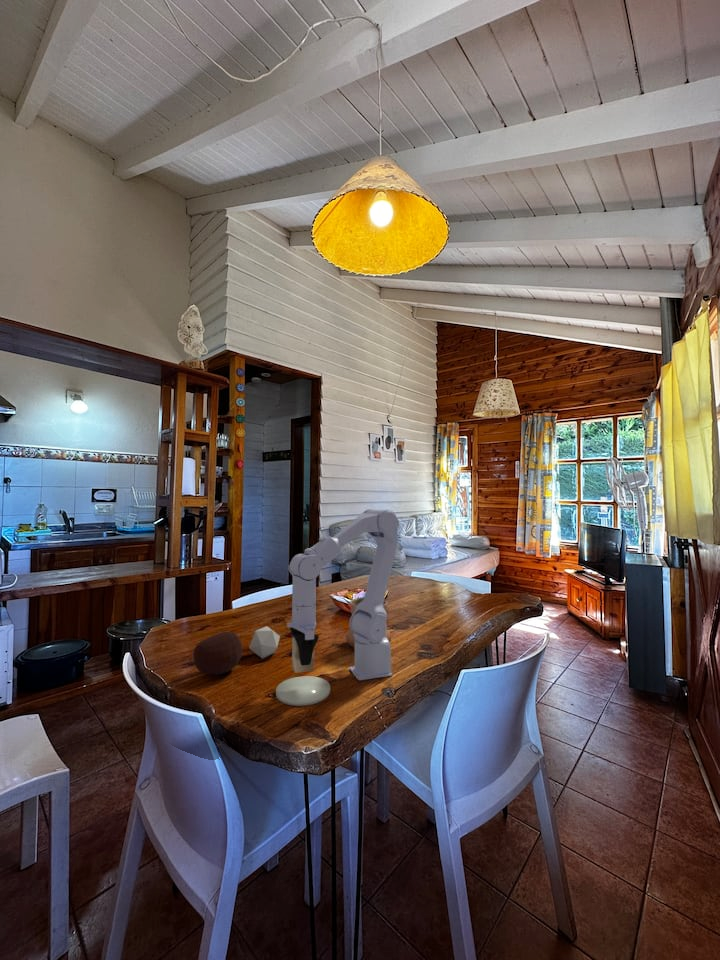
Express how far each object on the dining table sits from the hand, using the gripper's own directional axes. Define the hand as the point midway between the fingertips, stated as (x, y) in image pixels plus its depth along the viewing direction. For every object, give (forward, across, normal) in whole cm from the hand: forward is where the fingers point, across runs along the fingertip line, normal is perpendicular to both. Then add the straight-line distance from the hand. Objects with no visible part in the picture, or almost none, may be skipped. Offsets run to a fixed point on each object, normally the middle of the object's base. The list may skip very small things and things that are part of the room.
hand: (303, 660), depth 97 cm
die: (+8, -27, -6) cm, 29 cm away
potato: (+8, -18, -20) cm, 28 cm away
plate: (+8, 0, 0) cm, 8 cm away
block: (+2, 0, 0) cm, 2 cm away
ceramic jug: (+8, -24, +26) cm, 36 cm away
